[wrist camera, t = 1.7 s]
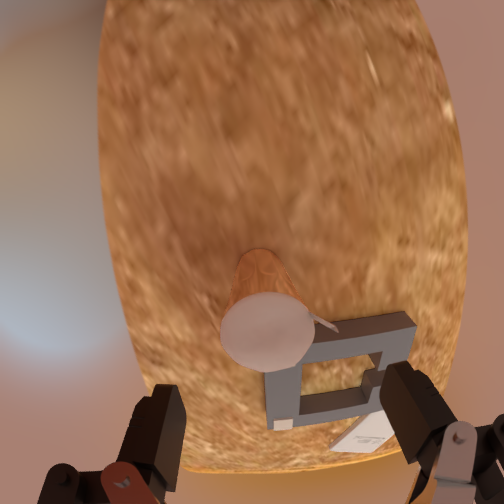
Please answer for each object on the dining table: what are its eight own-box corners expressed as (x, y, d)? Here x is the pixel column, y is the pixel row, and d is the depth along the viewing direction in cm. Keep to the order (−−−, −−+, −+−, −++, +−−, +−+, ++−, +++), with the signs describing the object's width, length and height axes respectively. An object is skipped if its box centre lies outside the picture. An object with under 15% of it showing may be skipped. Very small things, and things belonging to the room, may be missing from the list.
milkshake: (310, 273, 21) (353, 362, 12) (248, 306, 22) (251, 406, 12) (282, 221, 20) (315, 287, 10) (216, 258, 20) (195, 347, 11)
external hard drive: (428, 389, 28) (370, 445, 32) (388, 381, 27) (327, 442, 30) (433, 397, 26) (373, 453, 30) (394, 391, 25) (329, 451, 29)
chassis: (261, 329, 23) (263, 350, 20) (404, 311, 23) (418, 327, 20) (266, 411, 26) (267, 431, 24) (381, 392, 26) (390, 410, 24)
